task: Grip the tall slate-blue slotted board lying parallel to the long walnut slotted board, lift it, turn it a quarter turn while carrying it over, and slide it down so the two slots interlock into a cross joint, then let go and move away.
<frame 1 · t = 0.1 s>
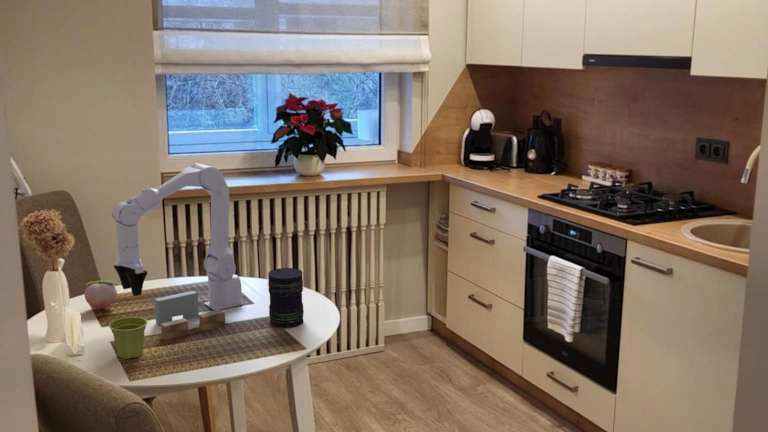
hand: (132, 291, 217), 10 cm above the table, tool pointing down, fingers open, 7 cm apart
plant pot: (130, 355, 199), on the table
camera lens: (286, 323, 222), on the table
decorative fruit: (102, 309, 233), on the table
base rail: (194, 331, 215), on the table
crosspiece: (177, 320, 224), on the table
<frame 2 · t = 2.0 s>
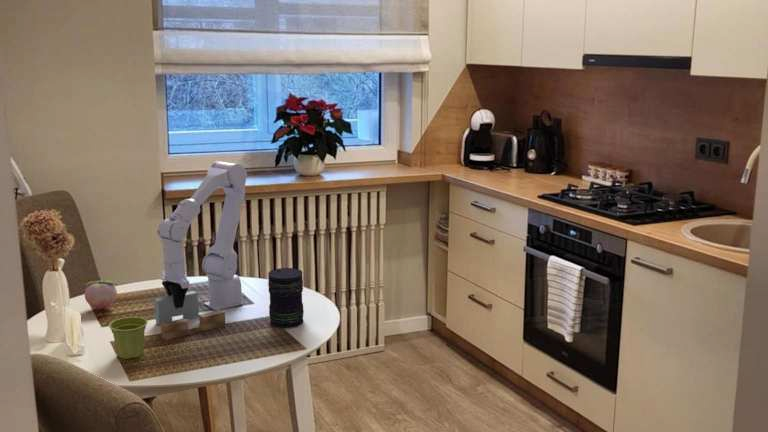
hand: (176, 305, 223), 4 cm above the table, tool pointing down, fingers closed on crosspiece, 3 cm apart
crosspiece: (177, 320, 224), on the table, touching gripper
everything else where it was.
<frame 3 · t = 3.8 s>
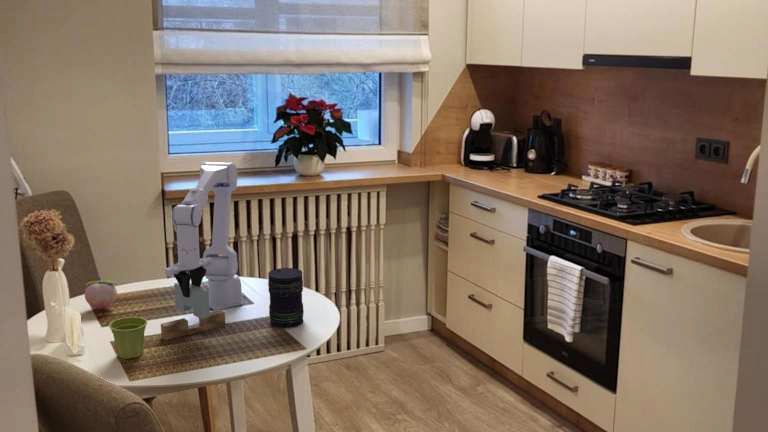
hand: (191, 295, 213), 10 cm above the table, tool pointing down, fingers closed on crosspiece, 3 cm apart
crosspiece: (192, 312, 214), point 6 cm above the table, touching gripper
everything else where it was.
when the fingers open (5 cm above the table, at t = 5.8 s): crosspiece stays where it is, on the table.
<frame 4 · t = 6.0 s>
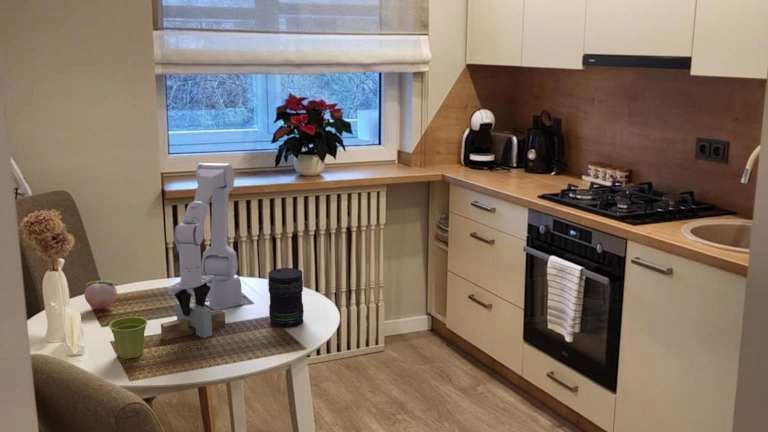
hand: (193, 313, 214), 5 cm above the table, tool pointing down, fingers open, 4 cm apart
crosspiece: (194, 331, 215), on the table
everything else where it was.
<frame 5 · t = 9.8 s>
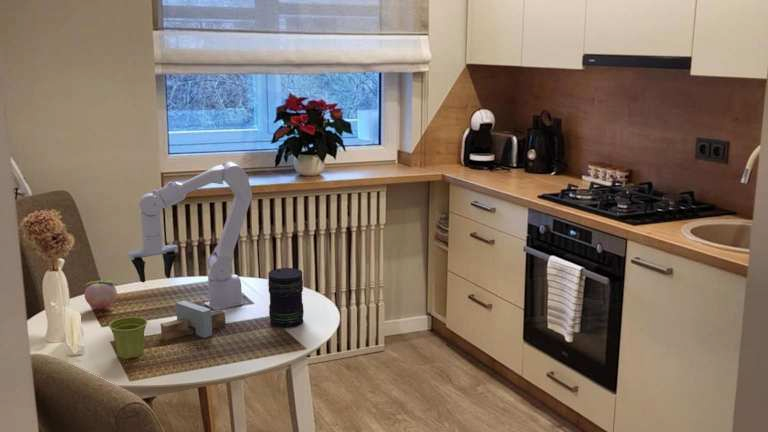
hand: (155, 279, 228), 10 cm above the table, tool pointing down, fingers open, 7 cm apart
nothing on the table moved.
at the end: crosspiece 0.2 cm off-centre on the base rail, point 0.0 cm above the base rail's base; crosspiece tilted 0°; the gripper is holding nothing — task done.
